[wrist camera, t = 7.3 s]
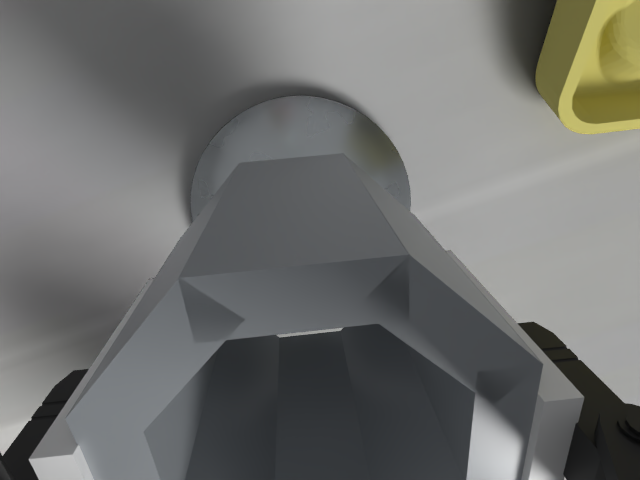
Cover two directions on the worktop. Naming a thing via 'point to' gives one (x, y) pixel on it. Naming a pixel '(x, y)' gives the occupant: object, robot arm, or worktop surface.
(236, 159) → the duct stub
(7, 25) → the worktop surface
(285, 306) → the grey octagonal holder
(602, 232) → the worktop surface
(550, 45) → the plastic component
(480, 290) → the robot arm
